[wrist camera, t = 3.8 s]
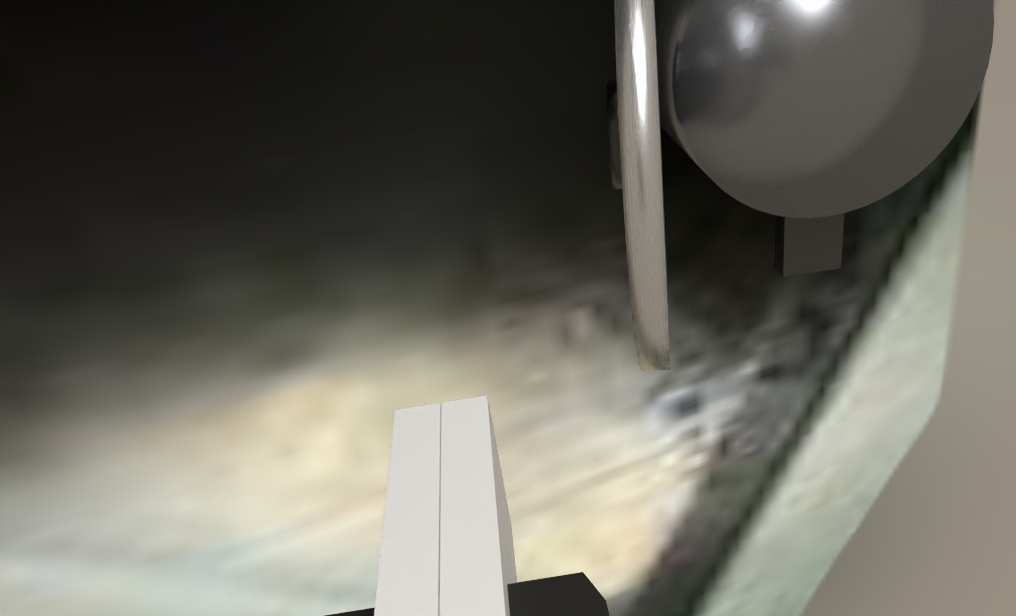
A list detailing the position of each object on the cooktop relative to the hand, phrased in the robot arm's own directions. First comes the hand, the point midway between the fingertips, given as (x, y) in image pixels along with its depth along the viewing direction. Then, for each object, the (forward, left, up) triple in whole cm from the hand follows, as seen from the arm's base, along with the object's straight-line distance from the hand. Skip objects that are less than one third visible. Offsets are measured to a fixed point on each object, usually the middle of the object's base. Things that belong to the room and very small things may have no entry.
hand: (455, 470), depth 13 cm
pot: (+17, 0, -34) cm, 38 cm away
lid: (+7, 0, -17) cm, 19 cm away
